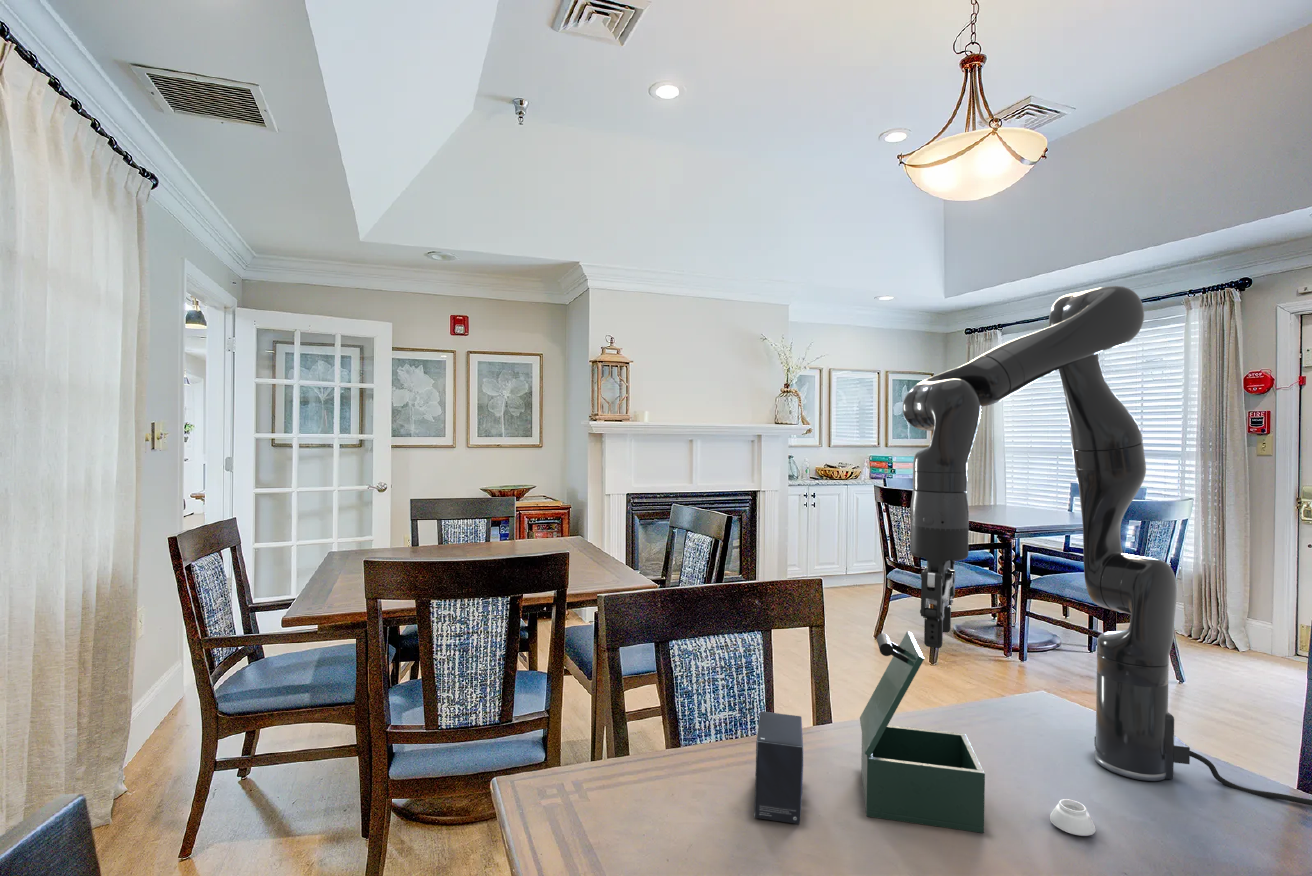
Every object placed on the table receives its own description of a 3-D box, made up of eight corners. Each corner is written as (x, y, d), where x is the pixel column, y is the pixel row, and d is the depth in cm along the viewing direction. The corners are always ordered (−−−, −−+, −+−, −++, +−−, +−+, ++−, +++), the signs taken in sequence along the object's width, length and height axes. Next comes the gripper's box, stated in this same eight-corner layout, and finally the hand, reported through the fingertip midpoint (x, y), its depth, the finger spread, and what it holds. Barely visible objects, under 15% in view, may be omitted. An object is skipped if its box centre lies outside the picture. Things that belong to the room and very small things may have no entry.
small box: (803, 826, 88) (804, 746, 88) (753, 819, 89) (754, 741, 89) (802, 785, 98) (803, 714, 98) (757, 780, 99) (758, 709, 99)
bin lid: (912, 633, 100) (882, 617, 101) (924, 658, 89) (890, 640, 90) (864, 720, 102) (835, 703, 103) (870, 757, 90) (837, 737, 91)
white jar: (1087, 843, 85) (1100, 828, 88) (1088, 820, 85) (1100, 806, 88) (1044, 826, 89) (1057, 812, 92) (1045, 803, 89) (1058, 791, 92)
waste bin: (964, 786, 98) (965, 733, 98) (984, 833, 87) (985, 773, 87) (861, 773, 102) (861, 722, 102) (866, 816, 90) (867, 758, 90)
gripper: (962, 531, 85) (961, 657, 86) (973, 519, 98) (972, 630, 98) (901, 526, 89) (900, 647, 89) (919, 516, 102) (918, 622, 102)
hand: (937, 638), depth 94 cm, fingers open, 8 cm apart
